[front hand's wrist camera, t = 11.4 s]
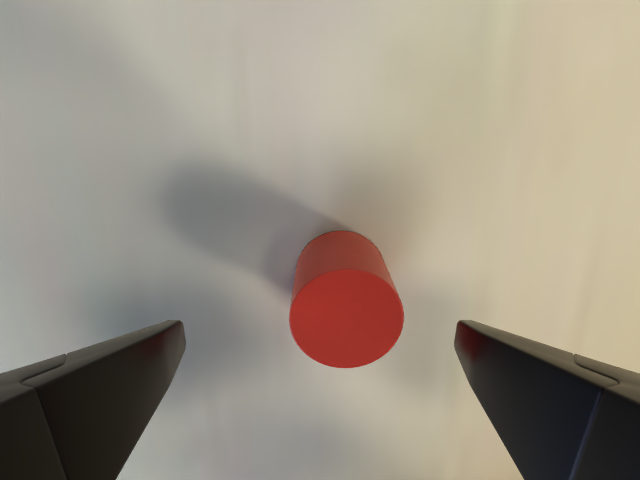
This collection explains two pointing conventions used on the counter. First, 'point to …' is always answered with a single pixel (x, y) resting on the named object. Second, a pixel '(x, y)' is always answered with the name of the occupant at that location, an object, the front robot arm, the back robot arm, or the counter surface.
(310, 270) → the canister
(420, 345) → the counter surface
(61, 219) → the counter surface
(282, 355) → the counter surface
